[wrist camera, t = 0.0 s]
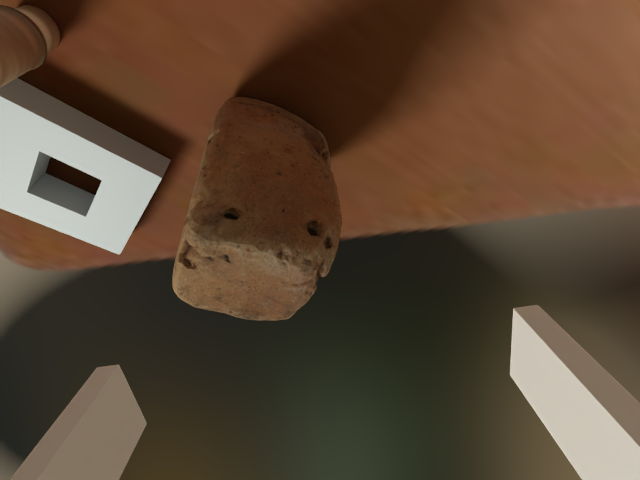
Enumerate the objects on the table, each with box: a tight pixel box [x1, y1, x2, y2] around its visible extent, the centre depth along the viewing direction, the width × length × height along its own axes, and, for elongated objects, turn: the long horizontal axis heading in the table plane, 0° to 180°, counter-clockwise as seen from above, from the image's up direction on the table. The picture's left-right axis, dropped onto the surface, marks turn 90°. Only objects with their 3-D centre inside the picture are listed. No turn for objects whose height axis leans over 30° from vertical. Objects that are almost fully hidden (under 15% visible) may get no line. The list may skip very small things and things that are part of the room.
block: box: [173, 97, 342, 320], centre depth 29 cm, size 11×8×20 cm
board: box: [0, 78, 171, 255], centre depth 36 cm, size 12×14×4 cm
